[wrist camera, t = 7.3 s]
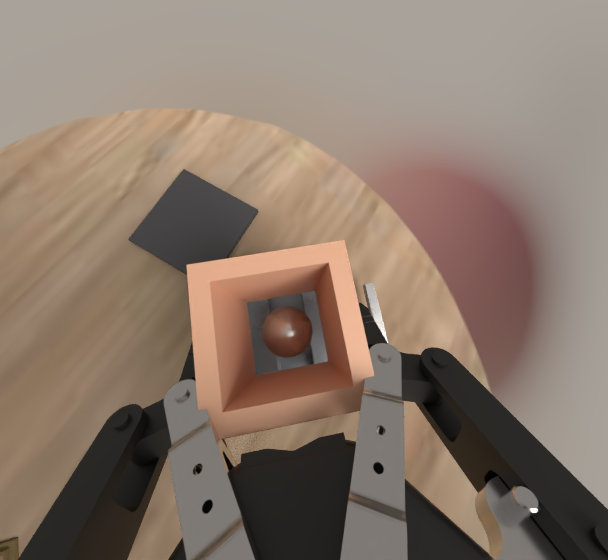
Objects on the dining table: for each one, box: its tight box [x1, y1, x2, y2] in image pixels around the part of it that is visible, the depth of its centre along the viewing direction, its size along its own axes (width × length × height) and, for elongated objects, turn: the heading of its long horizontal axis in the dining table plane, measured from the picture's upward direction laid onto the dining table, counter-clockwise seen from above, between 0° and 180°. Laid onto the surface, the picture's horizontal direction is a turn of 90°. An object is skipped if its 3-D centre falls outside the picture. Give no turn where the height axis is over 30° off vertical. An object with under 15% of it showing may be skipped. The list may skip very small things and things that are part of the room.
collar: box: [186, 240, 375, 439], centre depth 12 cm, size 6×6×7 cm
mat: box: [129, 169, 258, 274], centre depth 26 cm, size 10×10×1 cm
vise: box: [247, 283, 388, 375], centre depth 19 cm, size 15×11×10 cm
